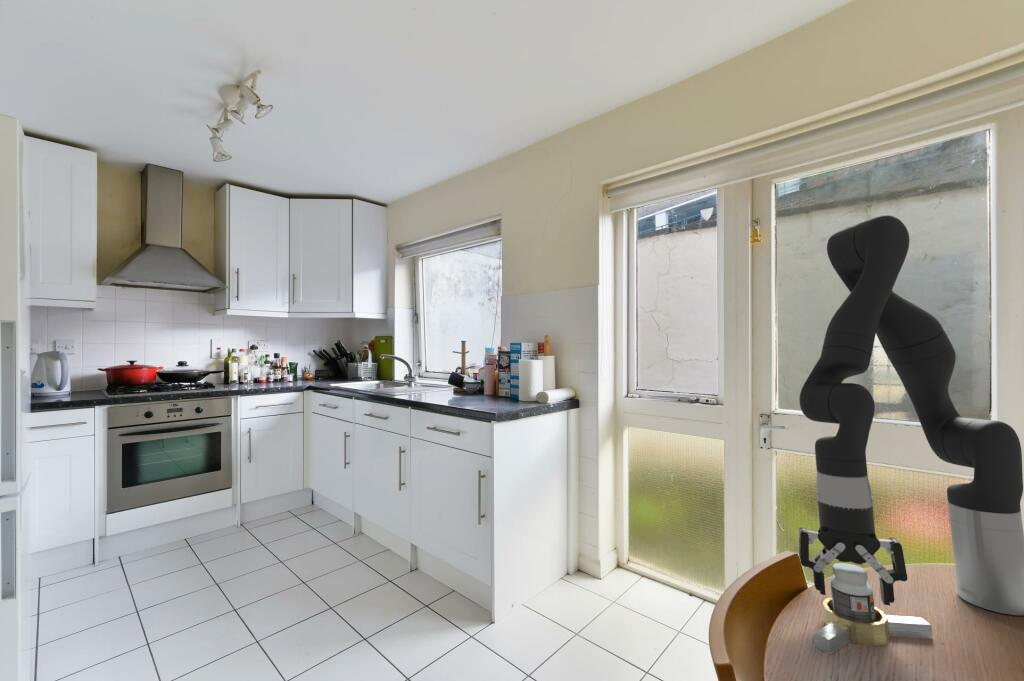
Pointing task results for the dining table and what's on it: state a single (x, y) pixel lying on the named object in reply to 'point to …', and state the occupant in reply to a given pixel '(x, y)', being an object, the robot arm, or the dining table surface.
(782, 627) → the dining table surface
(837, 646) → the stand
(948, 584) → the dining table surface
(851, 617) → the pill bottle
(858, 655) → the dining table surface
